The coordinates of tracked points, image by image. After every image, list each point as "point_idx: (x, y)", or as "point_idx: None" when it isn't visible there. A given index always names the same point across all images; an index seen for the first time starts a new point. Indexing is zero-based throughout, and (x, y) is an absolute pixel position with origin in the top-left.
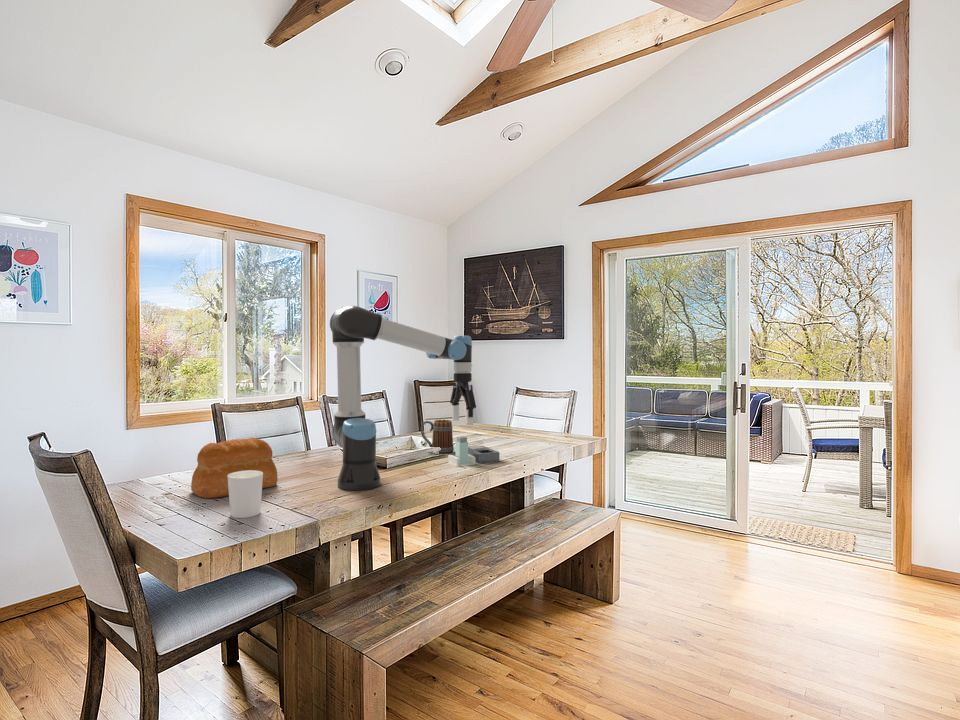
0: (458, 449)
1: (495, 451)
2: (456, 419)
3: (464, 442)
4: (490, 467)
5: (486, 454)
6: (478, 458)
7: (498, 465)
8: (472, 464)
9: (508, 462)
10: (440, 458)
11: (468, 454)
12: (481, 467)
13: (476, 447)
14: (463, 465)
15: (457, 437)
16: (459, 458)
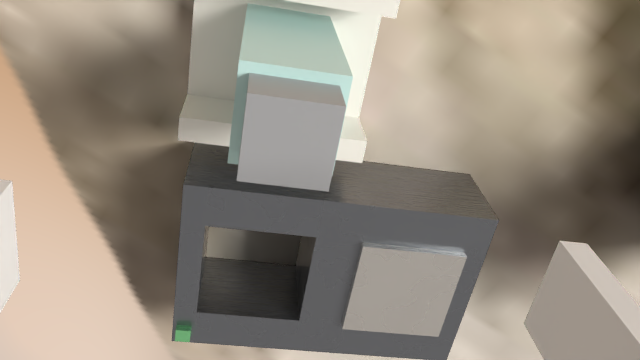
0: (268, 40)
1: (212, 333)
2: (546, 300)
3: (237, 124)
4: (115, 184)
5: (180, 243)
6: (191, 167)
7: (145, 256)
8: (190, 93)
9: (191, 342)
10: (594, 41)
11: None
12: (145, 133)
13: (395, 290)
14: (194, 10)
15: (327, 101)
16: (246, 16)
